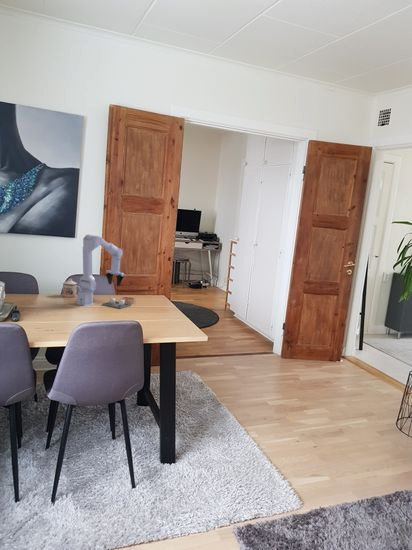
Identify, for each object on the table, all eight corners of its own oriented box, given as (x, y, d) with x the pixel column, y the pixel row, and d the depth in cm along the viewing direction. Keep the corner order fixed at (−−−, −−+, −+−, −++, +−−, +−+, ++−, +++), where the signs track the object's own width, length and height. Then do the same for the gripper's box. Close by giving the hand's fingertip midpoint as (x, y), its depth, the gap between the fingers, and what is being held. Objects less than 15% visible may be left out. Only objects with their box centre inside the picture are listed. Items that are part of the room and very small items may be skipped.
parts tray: (120, 309, 263) (120, 307, 263) (102, 305, 268) (102, 303, 268) (131, 306, 274) (131, 304, 274) (113, 302, 279) (113, 300, 279)
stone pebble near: (112, 305, 270) (113, 299, 270) (108, 304, 272) (108, 298, 271) (116, 304, 274) (116, 298, 273) (111, 303, 275) (111, 297, 274)
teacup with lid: (60, 296, 283) (61, 279, 281) (65, 294, 292) (66, 277, 290) (77, 298, 282) (78, 281, 281) (82, 296, 291) (83, 279, 290)
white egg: (122, 307, 268) (122, 301, 267) (117, 306, 269) (117, 300, 268) (125, 306, 271) (125, 300, 270) (120, 305, 272) (121, 299, 272)
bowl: (130, 305, 277) (130, 300, 276) (117, 303, 280) (117, 298, 280) (138, 303, 286) (138, 298, 286) (125, 300, 290) (126, 296, 289)
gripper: (127, 266, 288) (126, 286, 289) (111, 263, 295) (110, 282, 296) (120, 267, 281) (119, 287, 283) (104, 264, 289) (103, 283, 290)
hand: (114, 285), depth 289 cm, fingers open, 7 cm apart
